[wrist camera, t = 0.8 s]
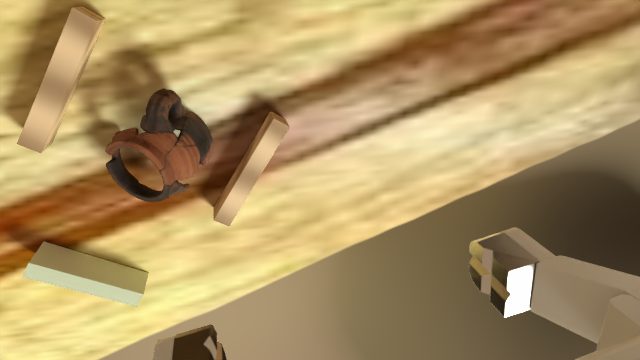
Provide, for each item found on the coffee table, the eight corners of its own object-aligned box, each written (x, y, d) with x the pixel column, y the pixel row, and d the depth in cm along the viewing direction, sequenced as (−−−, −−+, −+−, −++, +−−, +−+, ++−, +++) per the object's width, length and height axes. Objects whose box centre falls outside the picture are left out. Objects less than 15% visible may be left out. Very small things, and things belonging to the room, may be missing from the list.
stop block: (43, 241, 43) (28, 262, 40) (148, 272, 49) (143, 294, 45) (37, 254, 44) (22, 277, 40) (141, 284, 49) (136, 306, 46)
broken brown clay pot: (218, 176, 46) (181, 220, 39) (148, 152, 47) (100, 192, 40) (221, 84, 38) (176, 120, 32) (137, 59, 39) (77, 89, 33)
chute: (82, 6, 35) (72, 7, 32) (285, 119, 44) (289, 127, 42) (30, 133, 38) (16, 143, 36) (228, 213, 48) (229, 226, 45)
